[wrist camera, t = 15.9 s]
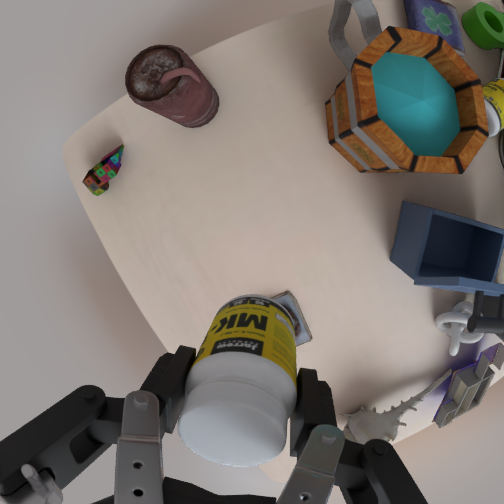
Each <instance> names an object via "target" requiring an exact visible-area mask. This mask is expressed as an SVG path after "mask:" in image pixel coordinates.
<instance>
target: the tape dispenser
mask: <svg viewBox="0 0 504 504" xmlns="http://www.w3.org/2000/svg"><path fill="white" fill-rule="evenodd" d="M462 24H463V27H464V29H465V31H466V33H467V34H468V36H469V37H470V38H471V39H472V41H473V42H474V43H476V44H477V45H478V46H479V47H481V48H483V49H486V50H491V49H493V48H504V13H498V12H497V11H496V10H495V9H494V8H493V7H492V6H490V5H488V4H486V3H483V2H480V3H478V4H476V5H475V6H474V7H472V8H471V9H470V10H468V11H467V12H466V13H464V14H463V16H462Z"/></svg>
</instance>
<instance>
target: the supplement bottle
mask: <svg viewBox="0 0 504 504" xmlns="http://www.w3.org/2000/svg"><path fill="white" fill-rule="evenodd" d="M185 397H186V399H185V401H184V404H183V408H182V411H181V414H180V417H179V419H178V432H179V435H180V437H181V439H182V441H183V442H184V444H185V445H187V447H188V448H189V449H191V450H192V451H193V452H195V453H196V454H198V455H199V456H201V457H203V458H205V459H207V460H210V461H212V462H215V463H218V464H222V465H226V466H234V467H250V466H256V465H260V464H264V463H266V462H269V461H271V460H273V459H274V458H275V457H277V456H278V455H279V454H280V453H281V452H282V450H283V449H284V447H285V444H286V437H287V420H288V419H289V417H290V416H291V414H292V413H293V411H294V408H295V405H296V401H297V368H296V339H295V327H294V323H293V320H292V317H291V316H290V314H289V313H288V311H287V310H286V309H285V308H284V307H283V306H282V305H281V304H280V303H278V302H277V301H275V300H273V299H271V298H269V297H266V296H262V295H254V294H251V295H243V296H239V297H236V298H234V299H232V300H230V301H229V302H227V303H226V304H225V305H223V306H222V307H221V309H220V310H219V311H218V313H217V314H216V316H215V318H214V320H213V322H212V324H211V326H210V329H209V331H208V333H207V335H206V337H205V339H204V341H203V343H202V345H201V347H200V350H199V352H198V354H197V356H196V358H195V360H194V362H193V364H192V367H191V368H190V370H189V373H188V375H187V378H186V382H185Z"/></svg>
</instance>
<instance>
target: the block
mask: <svg viewBox="0 0 504 504" xmlns="http://www.w3.org/2000/svg"><path fill="white" fill-rule="evenodd" d="M123 148H124V145H123V144H122V145H121V146H119V147H118V148H116V149H115V150H113V151H112V152H111V153H109V154H108V155H106V156H105V157H104V158H103V159H102V160H101V162H100V163H99V164H98V165H96V166H95V167H93V168H92V169H91V170H90V171H88V173H87V175H86V176H85V178H84V180H83V183H84V184H85V185H86V187H87V188H88V189H89V190H90V191H91V192H92V193H93V194H94V195H97V196H98V195H100V194H102V193H103V192H105V191H106V190H107V189H108V188H109V183H108V180H110V179H111V178H113V177H114V176H116V175H117V173H118V171H119V169H120V167H121V163H120V161H121V156H122V152H123Z"/></svg>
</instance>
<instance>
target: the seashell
mask: <svg viewBox="0 0 504 504" xmlns="http://www.w3.org/2000/svg"><path fill="white" fill-rule="evenodd" d="M451 373H452V370H451V369H450V370H449V371H448V372H446V373H445V374H444V375H443V376H442V377H441V378H439V379H438V380H437V381H435V382H434V383H432V384H431V385H430V386H429V387H427V388H426V389H425V390H424V391H422V392H421V393H419V394H418V395H416V396H415V397H411V398H410V399H409V400H408V401H406V402H403V401H401V405H399V406H398V407H394V406H391V407H392V408H391V410H390V411H388V412H386V411H385V410H384V413H381V414H379V413H376V408H375V407H374V408H373V410H372V411H368V410H364V408H363V407H362V406H361V408H360V411H358V412H357V413H354V414H346V413H345V414H339V415H344V416H346V417H347V419H348V422H347V424H346V426H345V427H344V430H343V431H342V432H343V434H344V436H345V438H346V439H348V440H350V441H353V442H356V443H360V444H365V443H366V442H367V441H369V440H371V439H382V440H385V441H387V442H389V441H390V439H392V442H393V441H394V439H395V438H396V436H397V433H398V431H397V429H398V426H399V425H404V426H406V423H400V421H399V420H400V418H401V417H402V416H403V414H404V413H405V412H407V411H408V410H410V409H413V410H415V411H417V409H416V408H414V406H416V404H417V403H419V402H420V401H423V400H422V399H424V398H425V397H426V396H427V395H429V394H430V392H432V391H433V390H434V389H435V388H437V387H438V386H439V385H440V384H441V383H442V382H444V381H445V380H446V379H447V378H448V377H449V376H450V375H451Z"/></svg>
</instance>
